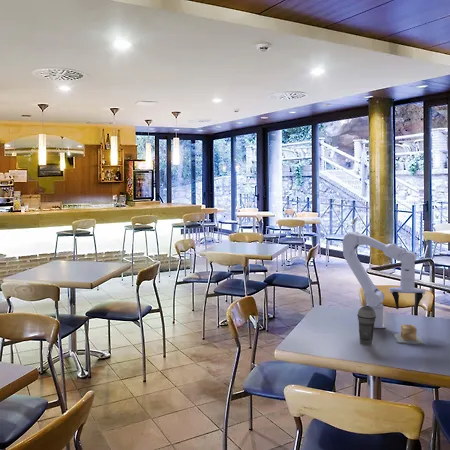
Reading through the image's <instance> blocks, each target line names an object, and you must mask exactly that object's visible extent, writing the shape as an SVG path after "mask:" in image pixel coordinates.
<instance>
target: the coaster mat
mask: <svg viewBox="0 0 450 450" xmlns="http://www.w3.org/2000/svg"><path fill="white" fill-rule="evenodd" d="M393 336H394V339H395V340H396V343H397V344H406V345H407V344H408V345H422V346H423V345H425V342H424V340H423V339H422V338H421V337H420V335H418V334H416V341H414V340H403V339H402V337H401V333H393Z"/></svg>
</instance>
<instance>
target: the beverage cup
mask: <svg viewBox="0 0 450 450" xmlns="http://www.w3.org/2000/svg"><path fill="white" fill-rule="evenodd" d="M363 295H364V294H363ZM362 306H363V307H362ZM362 306H361V307H360V308H359V309H358V310H357V311H358V312H357V321H358V333H359V336H358V337H359V344H360V345H361V346H364V347H370V346H372V345H373V337H374V332H375V331H374V329H375V328H374V322H375V319H376V314H375V311H374V309H373V308H372V307H370V306H367V303H366V295H364V305H362Z"/></svg>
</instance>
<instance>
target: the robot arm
mask: <svg viewBox="0 0 450 450" xmlns="http://www.w3.org/2000/svg"><path fill="white" fill-rule="evenodd" d="M341 243H342V255H343V258H344V259H345V261H346V263H347V265H348V266H349V267H350V269H351V271H352V273H353V274H354V276H355V278H356V280H357V281H358V283H359V285H360V287H361V288H362V291H363V295H366V306H370V307H372V308H373V309H374V311H375V314H376V319H375V322H374V329H375V328H377V329H385V328H386V327H385V325H384V304H383V302H384V300H385V294H384V292H383V291H382V290H380V289H379V288H378V286H377V285H376V284H374V282H373V280H372V279H371V277H370V276H369V274H368V273H367V271H366V269H365V267H364V266H363V264H362V262H361V261H360V259H359V258H358V256H357V250H358V248H359V246H369V247H371V248H374V249H377V250H378V251H382V252H383V253H384V256H386V257H388V258H390V259H393V260H395V261H398V262H400V263H401V265H400V267H401V268H400V283H399V284H400V285H399V286H398V287H389V288H388V289H389V290H388V291H389V293H390V294H391V295H392V297H393V299H394V300H393V301H394V305H395V309H396V310H399V307H400V305H399V300H400V294H414V309H413V310H415V311H418V308H419V304H420V303H421V301H422V299H423V298H424V297H423V296H424V295H426V289H424V288H417V287H415V279H416V278H415V276H416V275H415V274H416V268H415V267H416V264H415V263H416V260H417V255H416V253H415V252H413V251H412V250H410V249H409V250H407V248H402V247H400V246H397V243H388V244H386V243H384V242H382V241H379V240H377V239H376V238H373V237H371V236H369V235H367V234H365V233H361V232H358V231H352V232H349V233H347V234H345V235H344V237H343V239H342V242H341ZM363 306H364V305H362V306H361V307H363Z"/></svg>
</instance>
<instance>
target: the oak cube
mask: <svg viewBox="0 0 450 450" xmlns="http://www.w3.org/2000/svg"><path fill="white" fill-rule="evenodd" d="M400 334H401V337H402V339H403V340H414V341H416V335H417V327H416V326H415V325H414V324H401V325H400Z"/></svg>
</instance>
